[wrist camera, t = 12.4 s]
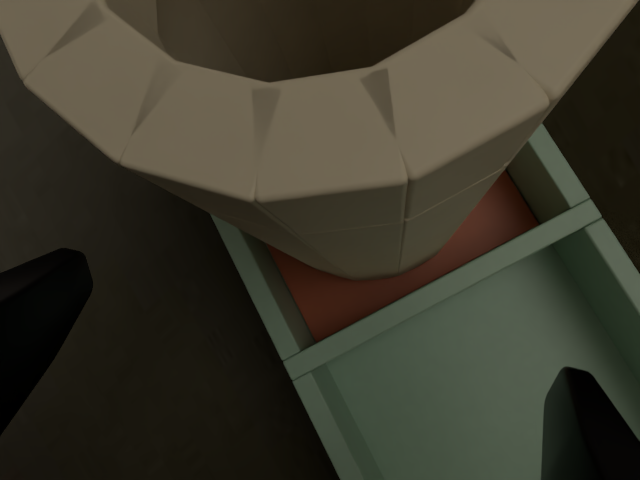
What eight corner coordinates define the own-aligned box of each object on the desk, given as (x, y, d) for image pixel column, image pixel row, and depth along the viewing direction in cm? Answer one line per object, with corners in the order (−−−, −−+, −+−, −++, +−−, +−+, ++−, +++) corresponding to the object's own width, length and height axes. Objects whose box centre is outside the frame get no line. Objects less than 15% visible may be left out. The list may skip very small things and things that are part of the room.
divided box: (720, 490, 16) (816, 543, 12) (441, 626, 16) (454, 714, 13) (419, 11, 19) (425, -57, 15) (196, 137, 20) (153, 100, 16)
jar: (508, 217, 17) (868, -71, 4) (325, 317, 17) (131, 337, 4) (404, 50, 18) (432, -572, 5) (236, 146, 18) (-115, -218, 6)
